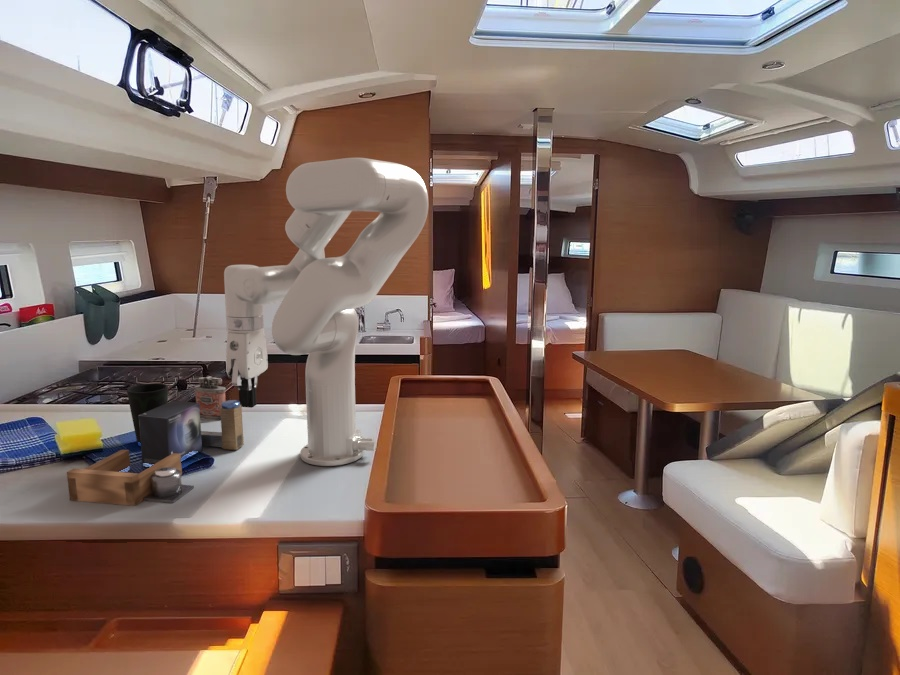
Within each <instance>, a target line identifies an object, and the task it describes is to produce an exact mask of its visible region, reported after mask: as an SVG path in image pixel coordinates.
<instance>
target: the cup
mask: <svg viewBox="0 0 900 675" xmlns="http://www.w3.org/2000/svg"><path fill="white" fill-rule="evenodd" d="M126 393H127V400H128V404H129V409H130V413H131V418H132V423H133V424H132V425H133V429H134V434H135V438H136V439H135V440H136V443H137V442H140V443H141V440H140V427H139V415H140V414H142V413H145V412H147V411H150V410H152V409H154V408H157V407H159V406H162V405H164V404H166V403H169V402H168V396H169V395H168V394H169V386H168V385H167V384H165V383H161V382H160V383H159V382H157V383H155V382H154V383H153V382H152V383H144V384H143V383H142V384H138V385H133V386H131V387H129V388H127V390H126Z"/></svg>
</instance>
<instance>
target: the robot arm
mask: <svg viewBox="0 0 900 675" xmlns="http://www.w3.org/2000/svg"><path fill="white" fill-rule="evenodd" d="M285 193H286V199H287V201H288V203H289V204H290V206H291V207H292V208H293V209H294V210H293V212H292V213H291V215H290V216H289V218H287V221H286V222H285V227H284V230H285V232H286V235H287V237H288V239H289V240H290V241H291V242H292V244H294V246H296V248H299V249H298V251H297V253H296V254H295V256H294V257H293V258H292V260H291V261H290V262H289V263H288V264H285V265H284V264H283V265H282V264H281V265H270V266H269V265H268V266H258V265H254V264H231V265H228V266H226V267H225V269H224V272H223V277H224V278H223V282H224V299H225V300H224V301H225V302H224V303H225V325H226V327H225V328H226V332H227V335H226V349H225V352H226V353H225V357H226V359H225V361H226V362H225V363H226V373H227V374H226V375H227V377H228V378H229V379H231V385H232V386H236V388H237V390H238V401H240V405H241V407H242V408H250V409H252V408H254V407H256V406H257V387H258V377H259V376H260V375H261V374H263V373H264V372H265V371H266V370H268V367H269V361H268V346H267V339H266V334H265V332H266V331H265V329H264V326H265V325H264V305H270V304H275V303H280V304H279V306H278V308H277V309H276V312H275V314H274V316H273V319H272V320H273V321H272V322H271V323H272V325H271V335H272V340H273V341H274V343H275V344H274V345H276V347H277V348H278V349H279V350H280V351H282V352H283V353H285V354H287V355H291V356H301V355H306V354H308V356H307V359H306V364H305V373H304V374H305V398H306V399H305V401H306V403H305V404H306V422H307V423H306V426H307V429H306V430H307V444H306V445H304V446H303V447H302V448H301V449H300V451H299V453H300V459H301V460H302V461H303V462H305V463H306V464H310V465H314V466H317V467H318V466H319V467H320V466H321V467H333V466H342V465H347V464H350V463H351V464H352V463H353V462H355V461H357V460H359V459H360V458H362V457H363V456H364V455H365V451H367V452H376V450H375V447H376V448H377V441H375V439H374V437H363V436H362V434H361V429H357V421H356V420H357V418H356V417H357V415H356V385H355V384H356V380H355V379H356V369H355V367H356V363H355V362H356V347H357V342H358V341H357V340H358V334H359V326H360V325H359V324H360V323H359V322H360V321H359V317H358V314H357V310H356V309H357V308H361V307H365V306H367V305H368V304H370V303H371V302H372V301H373V300H374V299H375V298H376V296H377V295H378V293H379V292H380V290H381V289H382V287H383V286H384V284H385V283H386V281H387V280H388V279H389V277H390V276H391V275H392V274H393V272H394V270H395V269H396V267H397V266H398V264H399V263H400V261H401V260H402V258H403V257H404V256H405V255H406V253H407V252H408V250H410V248H411V246H412V245H413V244H414V242H416V240H417V239H418V237H419V235H420V234H421V232H422V230H423V228H424V226H425V224H426V221H427V217H428V213H429V194H428V190H427V187H426V184H425V181H424V180H423V179H422V177H421V176H420V174H419V173H417V172H416V170H414V169H412V168H411V167H409V166H407V165H404V164H401V163H397V162H393V161H385V160H378V159H372V158H366V157H345V158H339V159H338V158H337V159H330V160H322V161H321V160H320V161H313V162H312V161H311V162H305V163H302V164H300V165H299V166H297V167H296V168H295V169H294V170H292V172H291V173H290V174H289V176H288V178H287V180H286V186H285ZM352 212H373V213H374V212H376V213H377V212H378V213H379V214H378V216H377V217H376V218H374V219H373V220H372V221H371V222H370V223H369V224H368V225H366V226H365V227H364V229H363V230H362V231H361V232H360V233H359V235H358V237H357V238H356V240H355V242H354V243H353V244H352V246H351V247H350V248H349V250H347V252H346V253H345V254H343V255H341V256H336V257H335V256H334V257H326V254H325V252H326V251H325V248H326V247H327V245H328V244H329V242H330V241H331V239H333V237H334V235H335V234H336V233H337V232H338V231H339V229H340V228H341V227H342V225H343V224H344V222H345V221H346V220H347V219H348V218H349V216H350V215H351V214H352Z"/></svg>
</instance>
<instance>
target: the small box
mask: <svg viewBox="0 0 900 675" xmlns="http://www.w3.org/2000/svg"><path fill="white" fill-rule="evenodd" d="M199 404H200V403H196V402H193V401H182V400H170V401H169V402H168V403H166V404H164V405H162V406H159V407H157V408H154V409H152V410H150V411H147V412H145V413H142V414H140V415H139V427H140V440H141V447H140V450H141V451H140V452H141V464H142V463H149V464H156V463H157V462H159V461H161V460H162V459H164V458H166V457H167V456H169V455H171V454H173V453H177V454H181V458H182V457H183V456H184V455H186V454H188V453H189V452H192V451H198V452H200V453H201V452H203V446H202V438H201V431H202V426H201V424H202V423H201V419H200V405H199Z"/></svg>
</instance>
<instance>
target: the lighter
mask: <svg viewBox="0 0 900 675" xmlns="http://www.w3.org/2000/svg"><path fill="white" fill-rule="evenodd" d="M198 383H199V384H198V385H195V386H193V388H194V393H195V403H200V404H199V405H200V420H207V421H208V420H209V421H221V414H220V408H221V403H222V402H224V401H227V400H226V391H227V388H226V387H225V386H221V385H222V384H223V379H222V378H221V377H220V378H219V377H213V376H210V375H207V376H206V377H202V376H201V377H198ZM219 385H220V386H219Z"/></svg>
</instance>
